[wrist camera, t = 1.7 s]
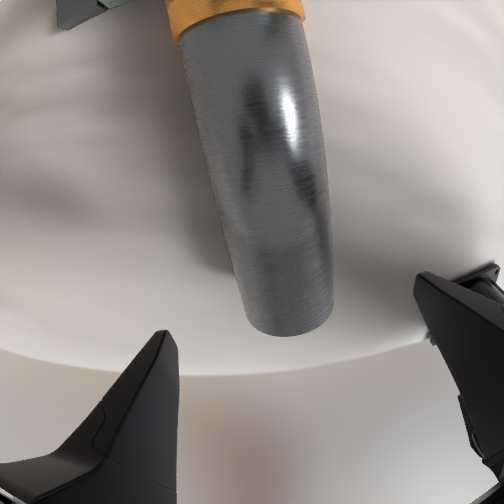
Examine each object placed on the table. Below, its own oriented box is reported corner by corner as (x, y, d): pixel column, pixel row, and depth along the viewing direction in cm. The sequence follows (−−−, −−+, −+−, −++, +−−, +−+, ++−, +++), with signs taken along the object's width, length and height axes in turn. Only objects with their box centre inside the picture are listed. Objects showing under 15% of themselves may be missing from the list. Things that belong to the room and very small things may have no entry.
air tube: (160, -56, 5) (142, -104, 1) (256, -71, 5) (273, -120, 1) (238, 285, 14) (247, 349, 10) (319, 266, 14) (351, 323, 11)
